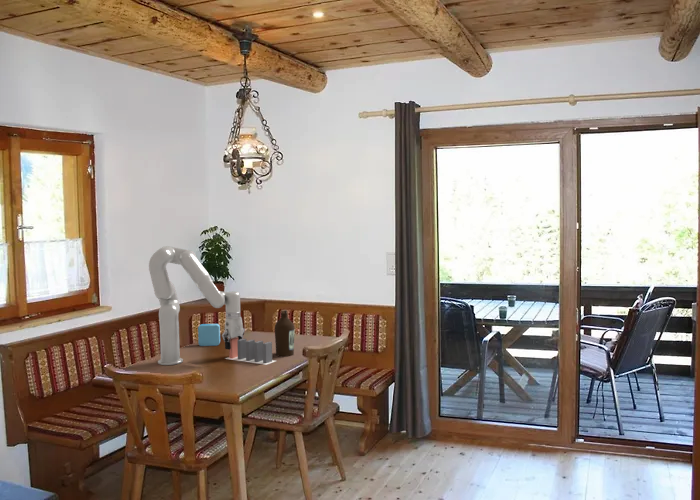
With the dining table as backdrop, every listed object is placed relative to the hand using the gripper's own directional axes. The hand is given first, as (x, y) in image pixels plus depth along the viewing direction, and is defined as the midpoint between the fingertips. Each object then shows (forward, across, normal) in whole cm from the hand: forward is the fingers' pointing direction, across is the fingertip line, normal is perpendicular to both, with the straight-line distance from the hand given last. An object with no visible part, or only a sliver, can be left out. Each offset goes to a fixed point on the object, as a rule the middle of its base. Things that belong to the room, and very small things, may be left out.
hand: (233, 347), depth 342 cm
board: (+6, 0, -11) cm, 13 cm away
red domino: (+5, 0, 0) cm, 5 cm away
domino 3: (+5, 0, -16) cm, 17 cm away
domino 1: (+5, 0, -6) cm, 8 cm away
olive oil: (+7, +18, -20) cm, 28 cm away
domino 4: (+5, 0, -22) cm, 23 cm away
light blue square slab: (+7, +20, +35) cm, 41 cm away
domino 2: (+5, 0, -11) cm, 12 cm away
